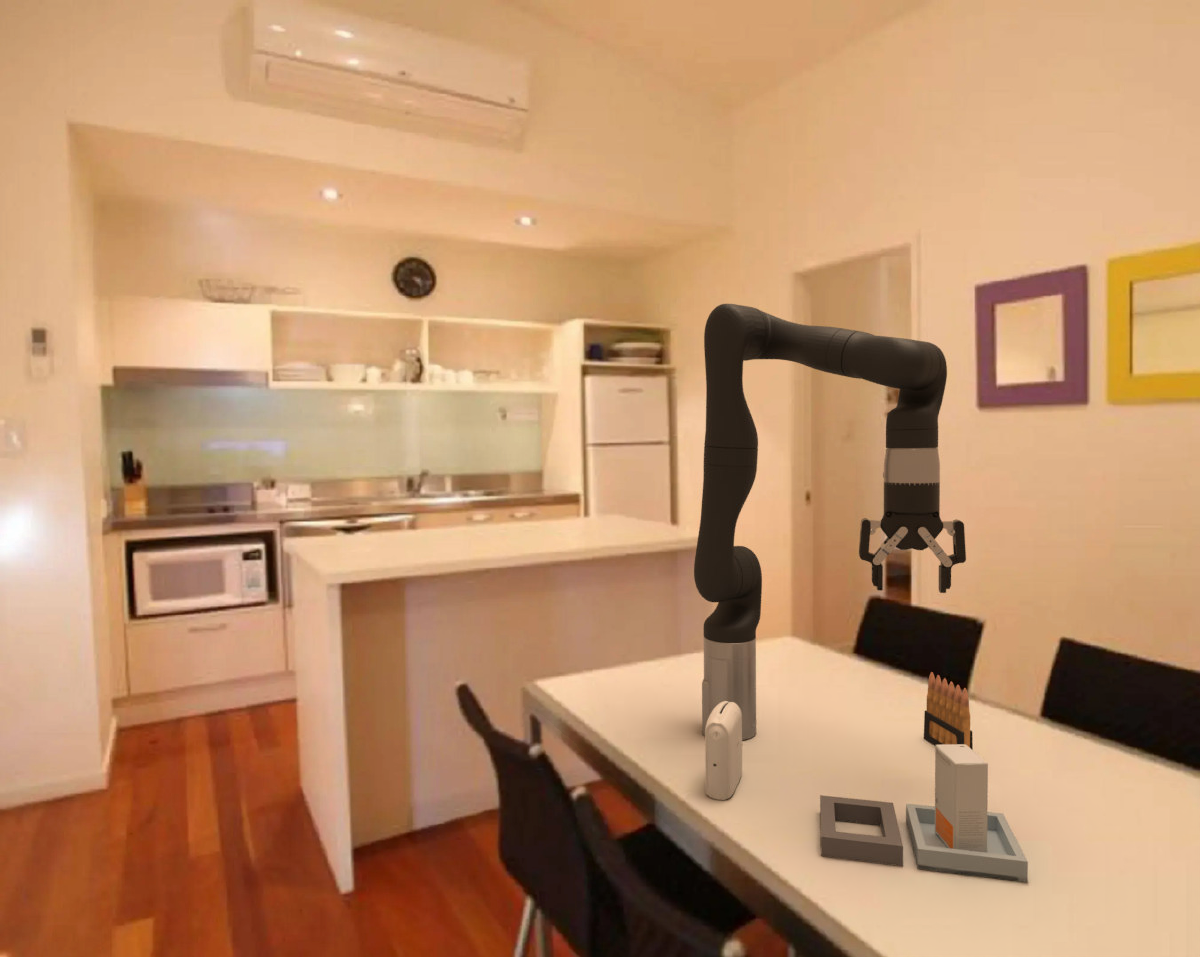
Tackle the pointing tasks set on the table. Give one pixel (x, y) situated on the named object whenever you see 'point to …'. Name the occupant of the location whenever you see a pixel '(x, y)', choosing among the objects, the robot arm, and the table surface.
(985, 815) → the skincare box
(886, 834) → the holder
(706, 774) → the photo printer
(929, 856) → the parts tray
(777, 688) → the table surface
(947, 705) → the ammunition clip
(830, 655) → the table surface
